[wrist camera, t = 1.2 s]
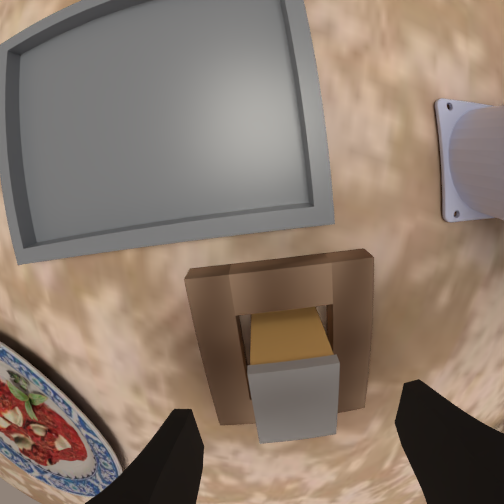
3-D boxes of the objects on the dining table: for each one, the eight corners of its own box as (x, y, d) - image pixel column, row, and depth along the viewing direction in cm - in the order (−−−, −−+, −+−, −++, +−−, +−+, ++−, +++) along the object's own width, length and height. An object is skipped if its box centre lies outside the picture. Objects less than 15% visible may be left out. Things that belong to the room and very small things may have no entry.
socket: (364, 248, 18) (374, 257, 17) (358, 392, 22) (364, 407, 20) (190, 268, 19) (184, 279, 17) (222, 409, 22) (220, 425, 20)
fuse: (315, 302, 20) (339, 362, 13) (317, 367, 21) (336, 434, 15) (249, 310, 20) (247, 374, 13) (258, 374, 21) (259, 443, 15)
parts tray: (288, -26, 14) (292, -44, 11) (325, 216, 18) (334, 224, 16) (16, 51, 14) (-1, 45, 12) (35, 255, 19) (18, 265, 17)
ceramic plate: (73, 495, 30) (67, 509, 27) (-55, 375, 24) (-66, 385, 22) (177, 460, 25) (172, 483, 22) (-23, 266, 19) (-45, 277, 17)
